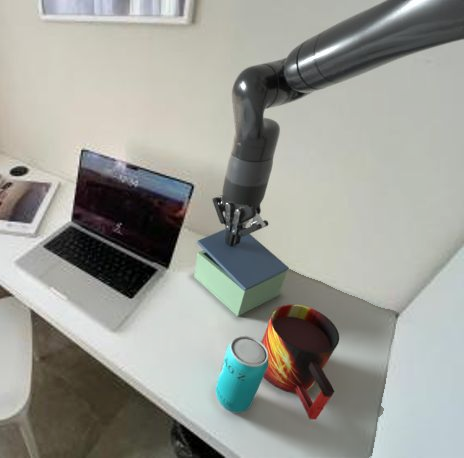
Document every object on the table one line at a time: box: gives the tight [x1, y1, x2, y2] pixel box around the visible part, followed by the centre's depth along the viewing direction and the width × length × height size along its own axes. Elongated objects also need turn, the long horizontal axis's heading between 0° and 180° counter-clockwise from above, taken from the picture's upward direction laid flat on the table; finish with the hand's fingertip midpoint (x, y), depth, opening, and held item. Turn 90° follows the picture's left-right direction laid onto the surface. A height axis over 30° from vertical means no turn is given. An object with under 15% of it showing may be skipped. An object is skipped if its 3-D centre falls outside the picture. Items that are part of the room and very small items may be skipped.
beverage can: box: [215, 335, 269, 414], centre depth 58 cm, size 6×6×15 cm
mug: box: [260, 303, 340, 420], centre depth 61 cm, size 10×14×12 cm
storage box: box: [193, 249, 288, 317], centre depth 80 cm, size 14×12×8 cm
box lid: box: [196, 228, 290, 291], centre depth 77 cm, size 14×12×1 cm
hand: (231, 243), depth 78 cm, fingers closed
